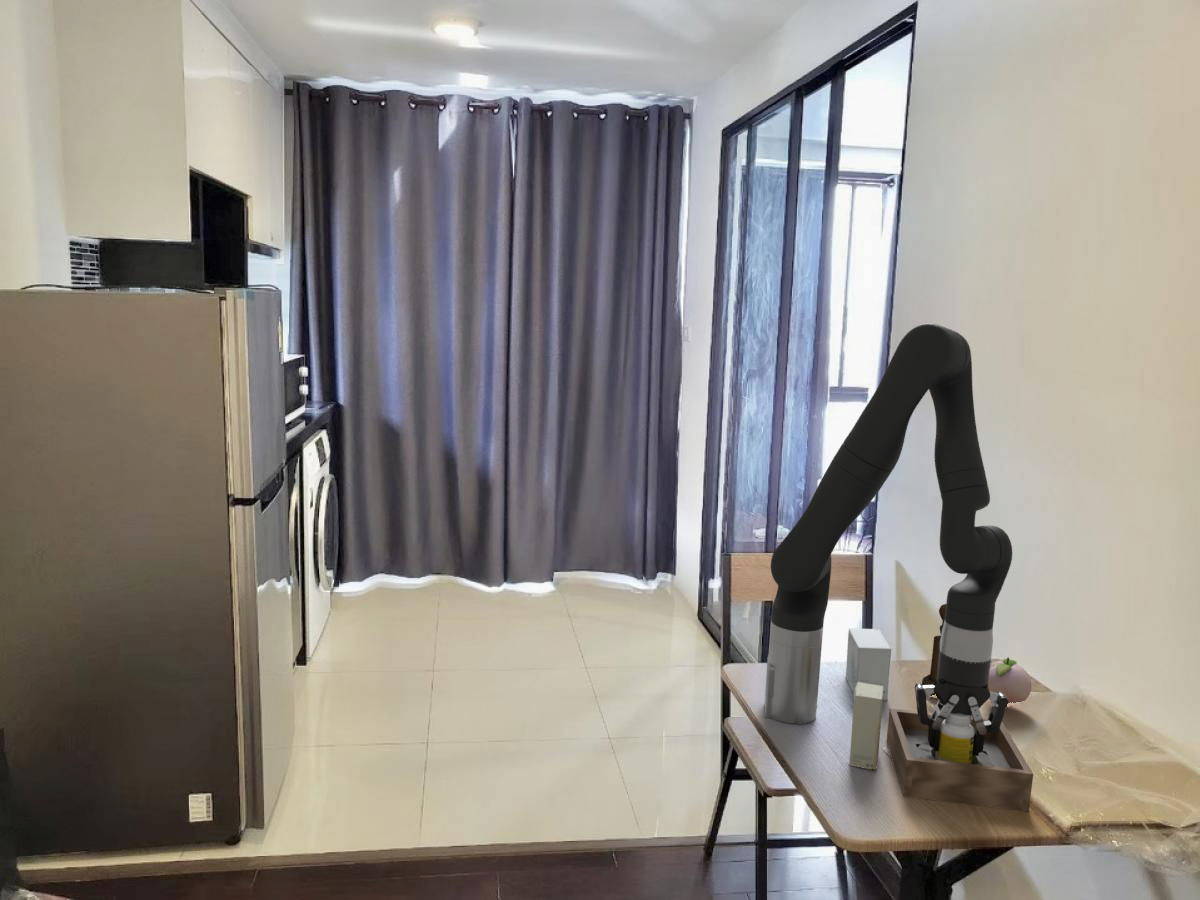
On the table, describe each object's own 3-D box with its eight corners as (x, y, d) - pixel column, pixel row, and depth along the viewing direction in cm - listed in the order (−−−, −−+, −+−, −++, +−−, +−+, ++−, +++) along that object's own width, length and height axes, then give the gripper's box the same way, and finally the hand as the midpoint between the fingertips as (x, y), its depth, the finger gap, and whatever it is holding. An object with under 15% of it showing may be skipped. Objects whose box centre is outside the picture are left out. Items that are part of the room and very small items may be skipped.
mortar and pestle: (964, 696, 174) (973, 607, 171) (943, 703, 170) (953, 612, 167) (934, 683, 179) (943, 597, 176) (914, 690, 175) (922, 602, 172)
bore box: (903, 796, 137) (906, 759, 136) (886, 741, 154) (889, 708, 153) (1028, 811, 134) (1033, 774, 133) (997, 753, 151) (1000, 719, 150)
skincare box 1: (843, 676, 181) (847, 626, 179) (876, 678, 181) (880, 628, 179) (853, 698, 171) (858, 646, 169) (888, 701, 170) (893, 648, 169)
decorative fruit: (1026, 723, 163) (1032, 671, 161) (977, 712, 167) (983, 661, 165) (1030, 704, 171) (1036, 654, 169) (983, 694, 175) (989, 645, 173)
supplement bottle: (973, 779, 141) (979, 720, 139) (937, 775, 142) (942, 717, 140) (967, 762, 146) (972, 705, 144) (932, 758, 147) (937, 702, 145)
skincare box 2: (876, 771, 144) (882, 700, 142) (847, 766, 145) (853, 695, 143) (878, 753, 150) (884, 685, 148) (851, 748, 151) (857, 680, 149)
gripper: (922, 655, 138) (911, 757, 141) (1020, 664, 136) (1008, 768, 139) (913, 637, 145) (904, 735, 148) (1007, 646, 143) (995, 745, 146)
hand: (954, 750), depth 143 cm, fingers open, 5 cm apart
